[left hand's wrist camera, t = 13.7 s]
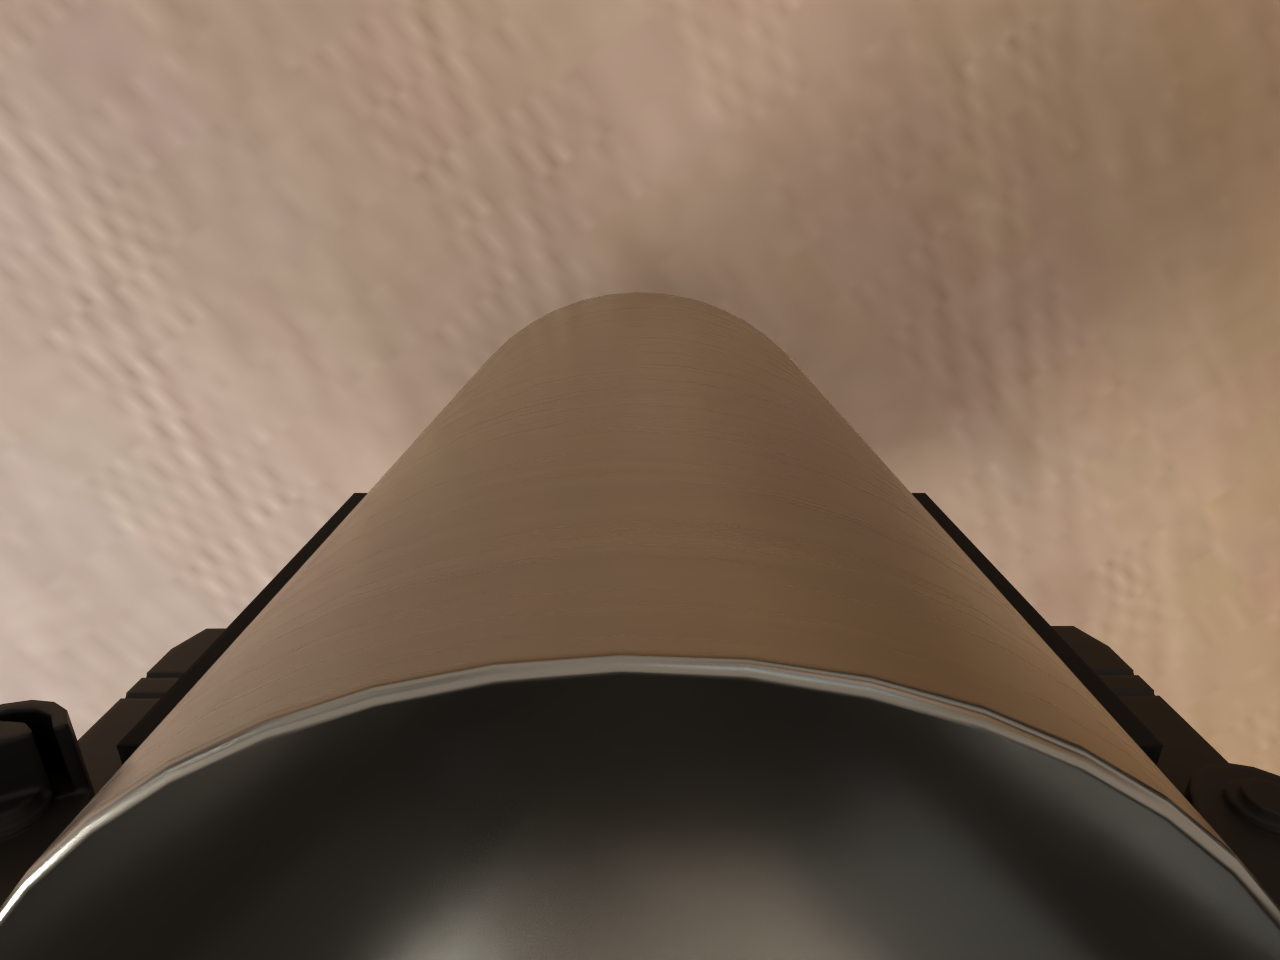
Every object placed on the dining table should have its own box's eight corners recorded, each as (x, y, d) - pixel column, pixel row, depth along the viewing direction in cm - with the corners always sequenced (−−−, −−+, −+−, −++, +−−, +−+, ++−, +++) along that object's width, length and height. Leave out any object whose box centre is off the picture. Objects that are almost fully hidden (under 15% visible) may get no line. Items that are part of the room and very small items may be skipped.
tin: (753, 220, 15) (1245, 348, 3) (881, 577, 18) (1396, 1396, 6) (372, 392, 16) (-425, 991, 4) (551, 699, 19) (397, 1578, 7)
